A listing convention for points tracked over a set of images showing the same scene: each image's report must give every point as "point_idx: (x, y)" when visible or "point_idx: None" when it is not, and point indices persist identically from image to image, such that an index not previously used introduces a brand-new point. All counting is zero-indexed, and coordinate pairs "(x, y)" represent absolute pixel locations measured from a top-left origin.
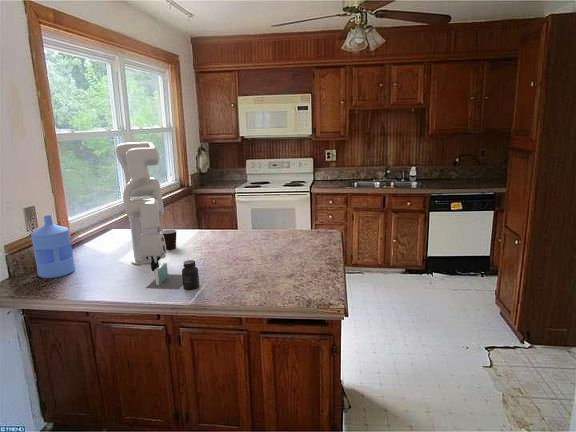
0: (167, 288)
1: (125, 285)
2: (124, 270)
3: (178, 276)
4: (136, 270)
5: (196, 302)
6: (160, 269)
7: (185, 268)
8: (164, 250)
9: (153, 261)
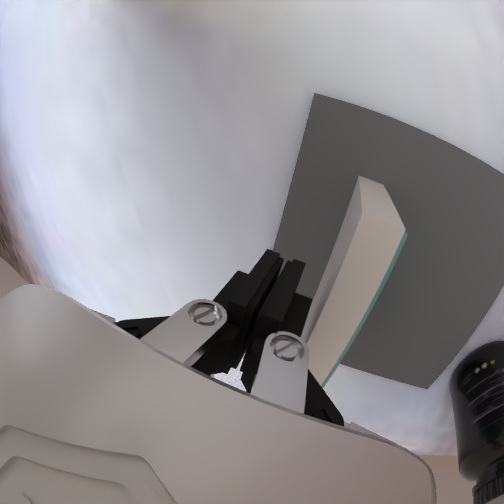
0: (376, 370)
1: (134, 237)
2: (78, 32)
3: (463, 197)
4: (124, 16)
5: (447, 451)
6: (333, 367)
7: (476, 483)
8: (405, 491)
9: (230, 356)
